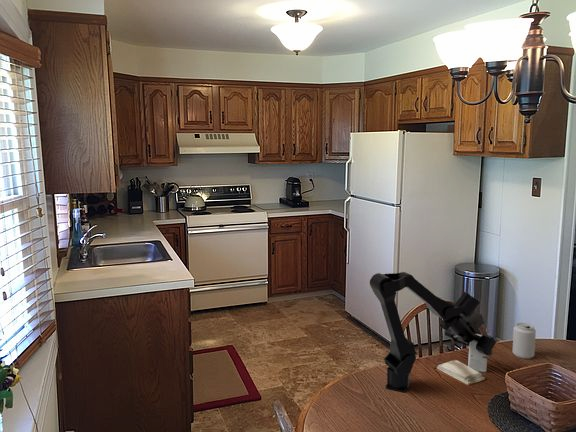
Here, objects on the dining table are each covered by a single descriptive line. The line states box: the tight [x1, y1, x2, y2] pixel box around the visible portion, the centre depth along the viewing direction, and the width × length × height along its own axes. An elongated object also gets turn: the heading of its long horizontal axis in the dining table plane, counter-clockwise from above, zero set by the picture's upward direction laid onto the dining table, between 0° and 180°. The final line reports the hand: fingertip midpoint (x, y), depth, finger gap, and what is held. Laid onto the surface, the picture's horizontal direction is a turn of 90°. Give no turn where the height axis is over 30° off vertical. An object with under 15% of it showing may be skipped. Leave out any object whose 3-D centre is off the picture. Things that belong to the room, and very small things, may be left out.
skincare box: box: [467, 333, 488, 373], centre depth 172 cm, size 6×4×12 cm
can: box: [512, 322, 537, 360], centre depth 182 cm, size 8×8×12 cm
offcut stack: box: [436, 359, 486, 386], centre depth 169 cm, size 8×14×2 cm, turn 27°
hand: (480, 349), depth 172 cm, fingers open, 9 cm apart
